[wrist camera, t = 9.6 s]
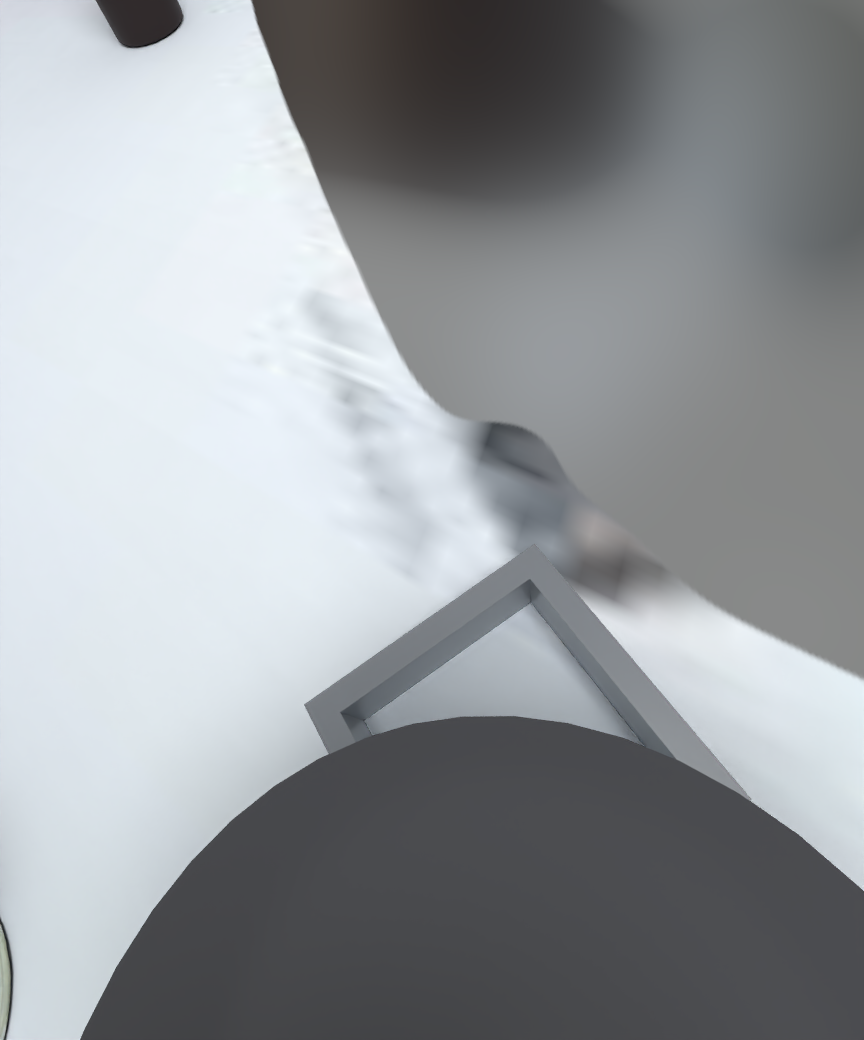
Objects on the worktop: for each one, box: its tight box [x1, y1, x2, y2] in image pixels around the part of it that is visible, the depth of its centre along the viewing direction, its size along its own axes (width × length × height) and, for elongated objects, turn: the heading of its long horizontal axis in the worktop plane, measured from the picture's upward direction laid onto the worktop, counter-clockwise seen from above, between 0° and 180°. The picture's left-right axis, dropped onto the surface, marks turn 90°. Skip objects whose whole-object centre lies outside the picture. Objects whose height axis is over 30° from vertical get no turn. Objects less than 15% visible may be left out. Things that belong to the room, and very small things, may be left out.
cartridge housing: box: [304, 544, 751, 801], centre depth 20 cm, size 10×10×3 cm
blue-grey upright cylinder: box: [80, 716, 864, 1040], centre depth 9 cm, size 7×7×12 cm
